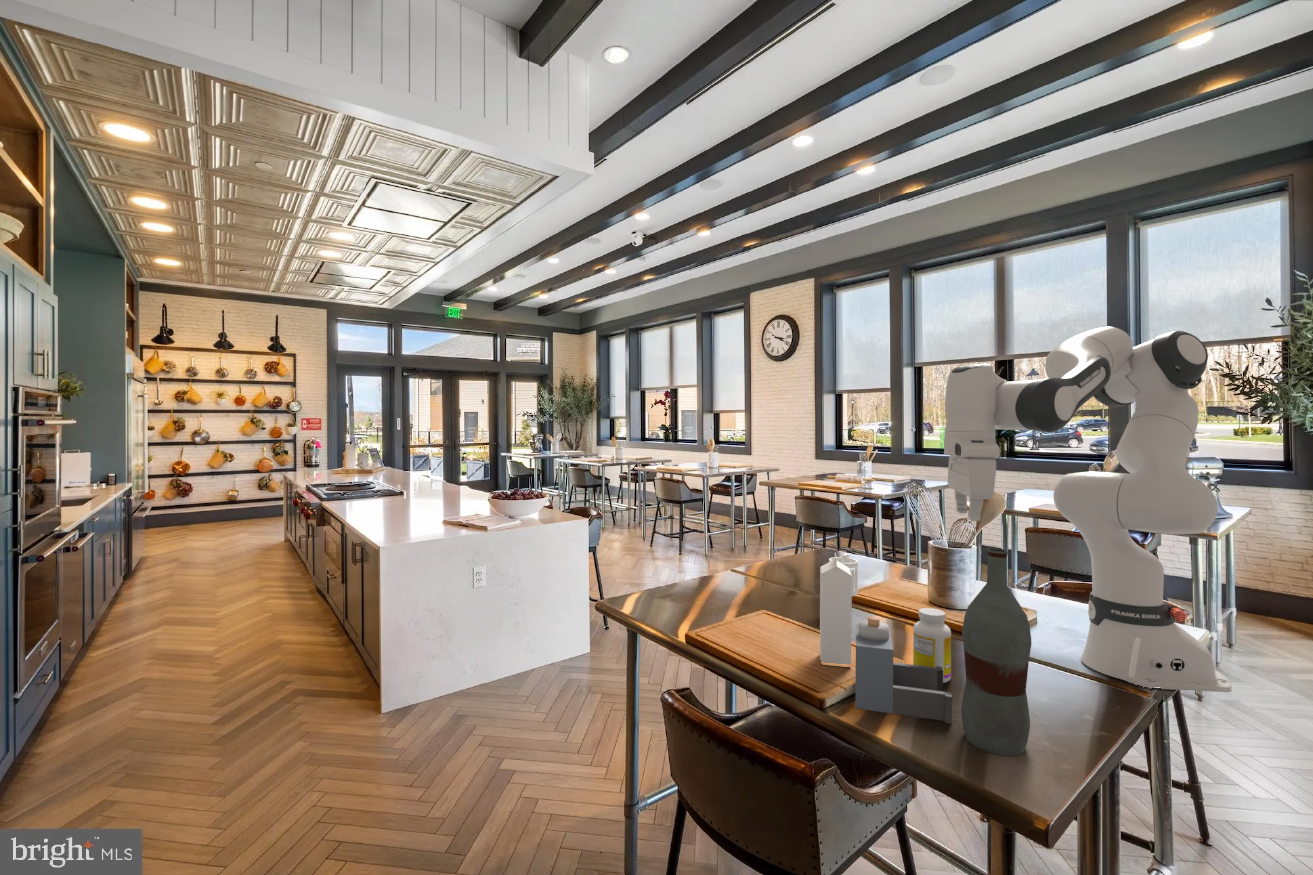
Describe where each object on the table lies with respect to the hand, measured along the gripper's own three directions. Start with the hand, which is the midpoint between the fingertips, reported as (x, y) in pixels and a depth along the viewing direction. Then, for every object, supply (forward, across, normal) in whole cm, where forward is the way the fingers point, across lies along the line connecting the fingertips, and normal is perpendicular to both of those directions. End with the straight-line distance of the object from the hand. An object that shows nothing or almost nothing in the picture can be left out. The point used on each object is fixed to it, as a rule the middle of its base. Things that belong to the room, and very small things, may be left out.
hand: (967, 516), depth 116 cm
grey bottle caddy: (+31, +15, -14) cm, 37 cm away
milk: (+31, +1, -25) cm, 40 cm away
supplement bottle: (+31, +5, -7) cm, 32 cm away
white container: (+31, -30, -22) cm, 48 cm away
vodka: (+31, +27, -2) cm, 41 cm away
